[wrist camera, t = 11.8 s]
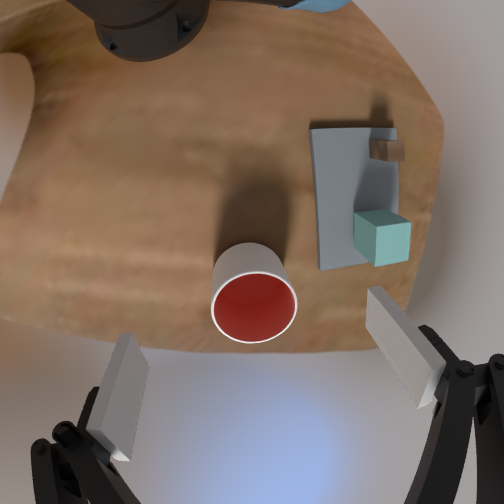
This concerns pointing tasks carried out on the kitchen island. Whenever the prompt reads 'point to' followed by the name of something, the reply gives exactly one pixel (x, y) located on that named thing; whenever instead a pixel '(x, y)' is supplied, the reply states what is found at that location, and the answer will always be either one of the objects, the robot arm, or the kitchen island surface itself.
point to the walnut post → (387, 150)
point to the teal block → (382, 236)
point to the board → (348, 188)
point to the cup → (251, 294)
